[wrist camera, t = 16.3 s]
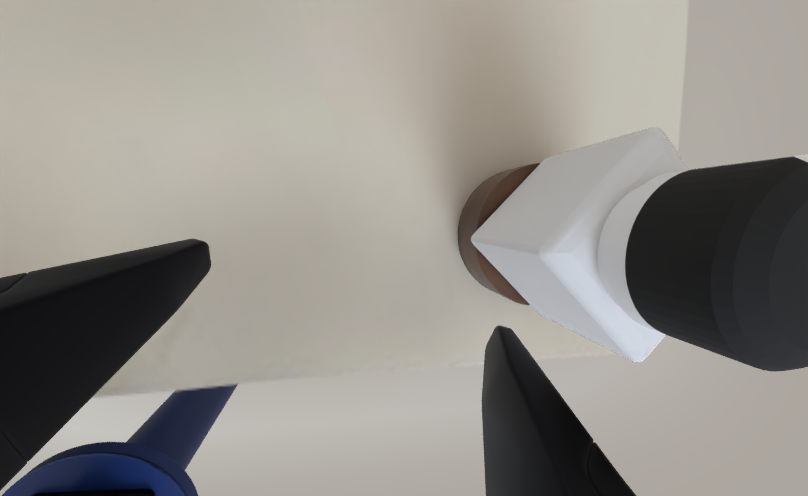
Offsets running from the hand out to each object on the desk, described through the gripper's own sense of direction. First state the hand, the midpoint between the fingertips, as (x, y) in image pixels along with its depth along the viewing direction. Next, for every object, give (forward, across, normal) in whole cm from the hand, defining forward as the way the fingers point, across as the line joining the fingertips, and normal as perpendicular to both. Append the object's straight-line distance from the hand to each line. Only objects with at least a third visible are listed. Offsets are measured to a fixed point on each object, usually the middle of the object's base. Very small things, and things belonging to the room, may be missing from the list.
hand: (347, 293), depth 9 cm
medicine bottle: (+12, -9, +1) cm, 15 cm away
